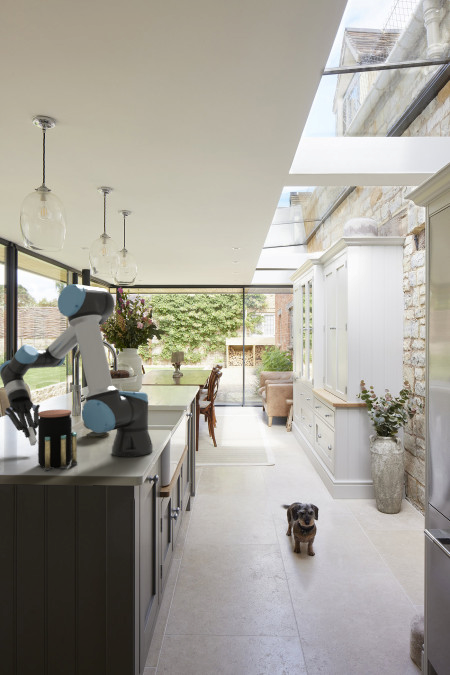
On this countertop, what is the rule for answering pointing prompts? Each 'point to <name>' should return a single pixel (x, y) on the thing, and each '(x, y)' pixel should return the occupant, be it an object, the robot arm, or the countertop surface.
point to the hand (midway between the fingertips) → (34, 443)
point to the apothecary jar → (94, 434)
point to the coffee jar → (54, 436)
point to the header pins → (63, 452)
